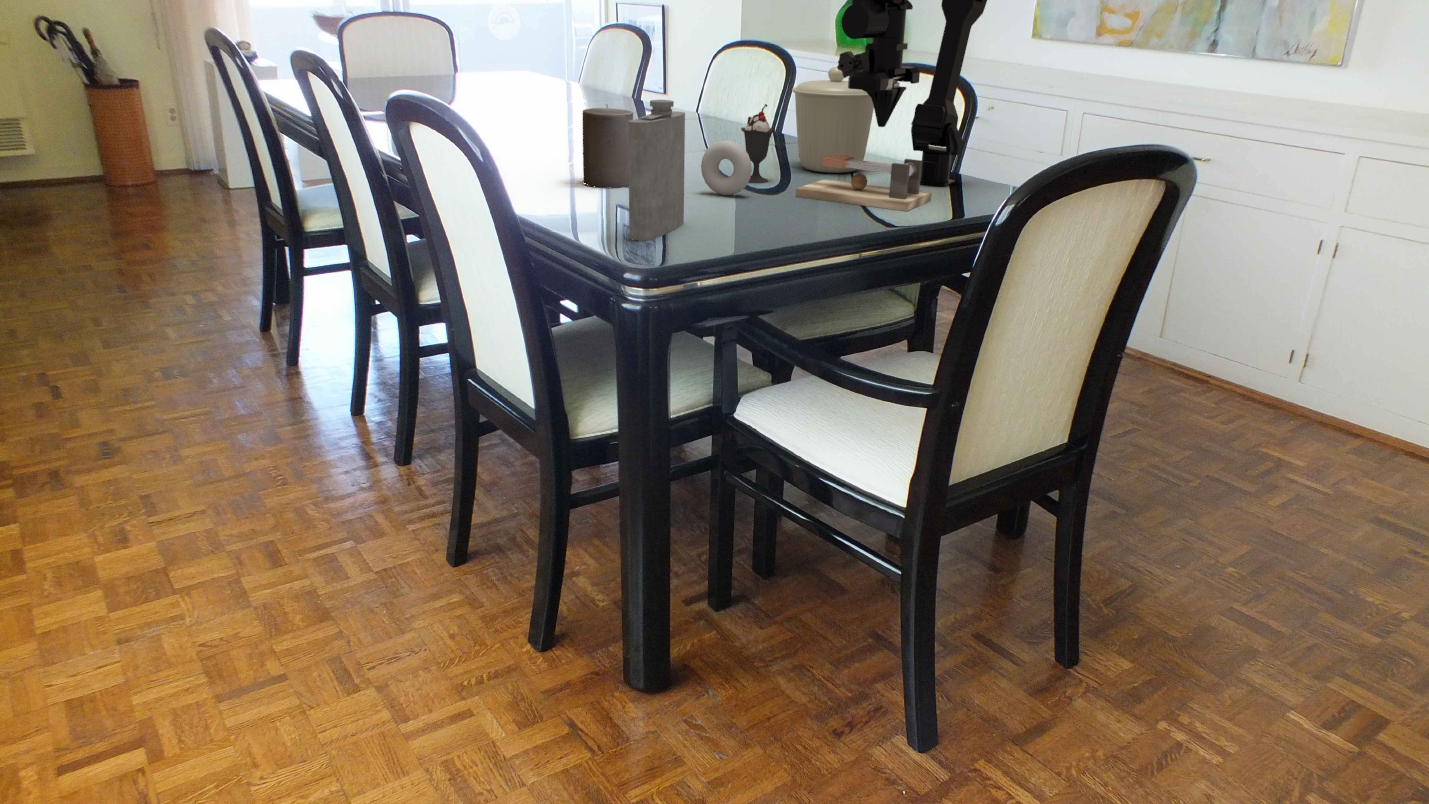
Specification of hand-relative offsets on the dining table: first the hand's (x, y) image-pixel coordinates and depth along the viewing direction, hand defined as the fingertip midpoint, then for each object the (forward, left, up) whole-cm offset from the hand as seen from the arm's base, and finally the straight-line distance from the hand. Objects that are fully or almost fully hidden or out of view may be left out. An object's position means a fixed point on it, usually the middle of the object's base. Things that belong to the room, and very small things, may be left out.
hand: (881, 126), depth 191 cm
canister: (-22, -20, -13) cm, 32 cm away
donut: (+17, -23, -13) cm, 31 cm away
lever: (+4, 0, -8) cm, 9 cm away
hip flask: (+49, -16, -13) cm, 53 cm away
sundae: (0, -26, -13) cm, 29 cm away
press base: (+4, -1, -13) cm, 13 cm away
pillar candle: (+21, -47, -13) cm, 53 cm away
